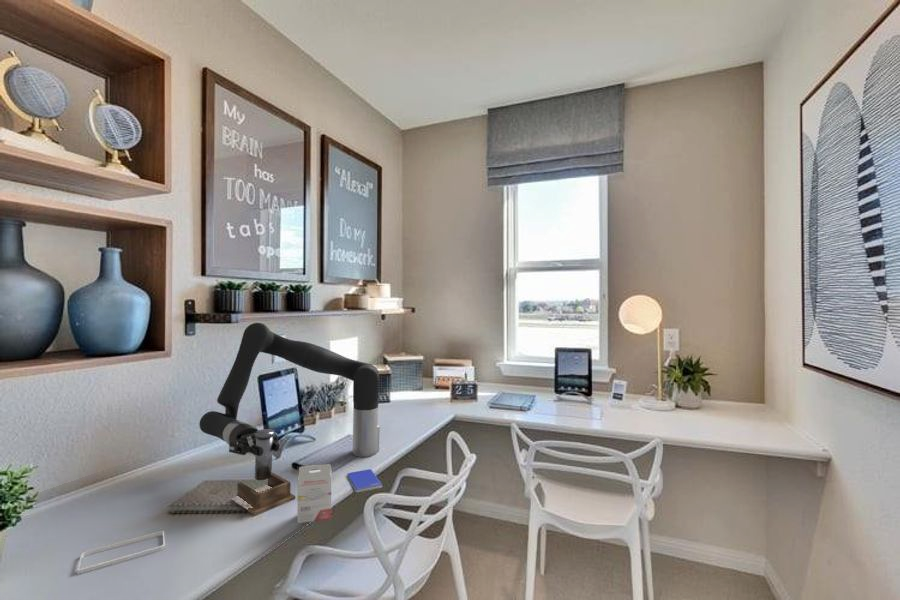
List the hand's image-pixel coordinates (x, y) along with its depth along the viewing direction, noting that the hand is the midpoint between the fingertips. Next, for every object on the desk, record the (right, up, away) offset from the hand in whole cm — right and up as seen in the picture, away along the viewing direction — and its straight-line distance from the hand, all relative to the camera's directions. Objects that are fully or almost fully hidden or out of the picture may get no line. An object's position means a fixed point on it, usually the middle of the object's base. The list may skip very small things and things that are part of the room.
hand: (269, 449), depth 113 cm
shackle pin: (-3, -8, +2) cm, 9 cm away
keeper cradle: (-2, -15, +2) cm, 15 cm away
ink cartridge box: (+15, -16, -7) cm, 23 cm away
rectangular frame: (-23, -15, -23) cm, 36 cm away
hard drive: (+24, -16, +14) cm, 32 cm away
